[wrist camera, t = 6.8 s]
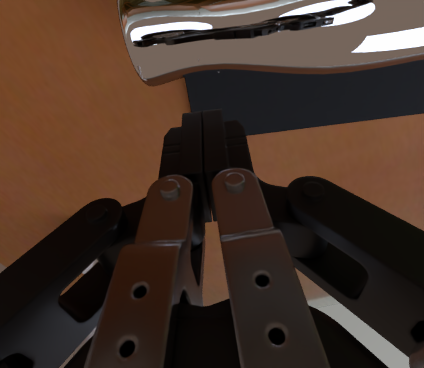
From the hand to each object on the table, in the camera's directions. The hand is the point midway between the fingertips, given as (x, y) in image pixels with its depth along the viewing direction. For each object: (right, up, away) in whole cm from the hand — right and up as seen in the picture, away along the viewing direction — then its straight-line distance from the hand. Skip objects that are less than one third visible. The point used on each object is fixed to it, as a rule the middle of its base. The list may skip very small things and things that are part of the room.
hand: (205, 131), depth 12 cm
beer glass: (-4, +6, +5) cm, 9 cm away
